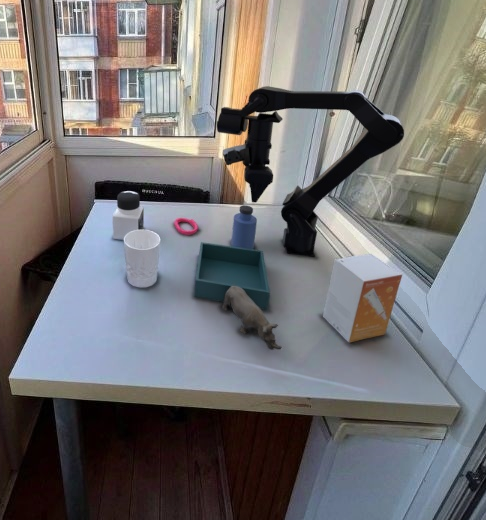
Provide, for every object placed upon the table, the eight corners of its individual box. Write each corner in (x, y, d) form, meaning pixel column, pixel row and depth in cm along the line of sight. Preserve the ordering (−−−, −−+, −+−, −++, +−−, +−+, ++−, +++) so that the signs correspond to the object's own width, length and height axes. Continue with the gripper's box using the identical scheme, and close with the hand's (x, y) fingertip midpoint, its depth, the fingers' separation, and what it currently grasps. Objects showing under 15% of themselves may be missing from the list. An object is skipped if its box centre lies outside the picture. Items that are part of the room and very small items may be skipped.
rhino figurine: (268, 367, 54) (272, 337, 52) (217, 307, 66) (220, 282, 64) (287, 358, 55) (292, 329, 53) (234, 302, 67) (237, 277, 65)
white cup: (164, 272, 76) (165, 234, 73) (151, 294, 69) (152, 253, 66) (133, 263, 79) (133, 226, 76) (118, 283, 72) (117, 244, 69)
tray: (260, 266, 78) (262, 250, 77) (267, 310, 65) (270, 292, 64) (199, 257, 82) (200, 241, 80) (194, 297, 68) (195, 280, 67)
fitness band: (201, 234, 91) (201, 229, 91) (181, 236, 90) (181, 232, 90) (190, 220, 99) (190, 215, 99) (171, 222, 98) (171, 217, 97)
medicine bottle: (138, 242, 88) (138, 201, 84) (112, 239, 89) (111, 198, 86) (143, 228, 95) (143, 189, 91) (119, 225, 96) (118, 187, 92)
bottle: (253, 241, 88) (257, 204, 85) (254, 253, 83) (259, 214, 80) (231, 238, 90) (234, 202, 86) (231, 250, 84) (234, 211, 81)
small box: (348, 344, 58) (363, 281, 54) (321, 316, 63) (333, 258, 60) (386, 335, 59) (403, 274, 55) (356, 309, 65) (370, 252, 61)
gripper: (226, 127, 94) (222, 178, 98) (225, 145, 77) (220, 206, 81) (267, 129, 91) (261, 182, 96) (277, 149, 74) (269, 212, 78)
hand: (252, 194), depth 88 cm, fingers open, 9 cm apart
